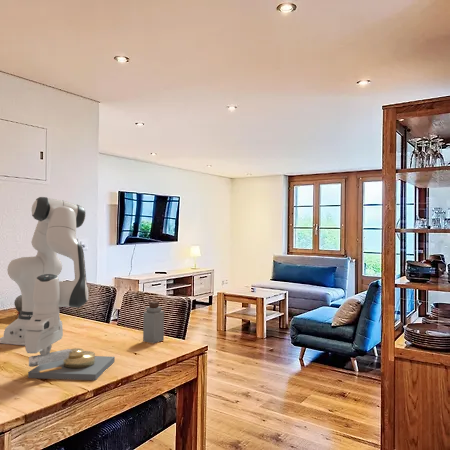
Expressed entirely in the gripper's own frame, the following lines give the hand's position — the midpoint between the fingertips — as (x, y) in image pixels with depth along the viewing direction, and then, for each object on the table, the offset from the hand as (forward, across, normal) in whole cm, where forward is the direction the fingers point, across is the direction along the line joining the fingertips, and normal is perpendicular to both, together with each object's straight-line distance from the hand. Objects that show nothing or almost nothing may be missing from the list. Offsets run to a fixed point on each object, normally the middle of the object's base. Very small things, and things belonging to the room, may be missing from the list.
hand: (45, 358), depth 147 cm
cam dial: (+3, -1, +6) cm, 7 cm away
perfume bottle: (+6, -47, +28) cm, 55 cm away
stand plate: (+5, -5, +8) cm, 11 cm away
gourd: (+6, -92, -52) cm, 106 cm away
